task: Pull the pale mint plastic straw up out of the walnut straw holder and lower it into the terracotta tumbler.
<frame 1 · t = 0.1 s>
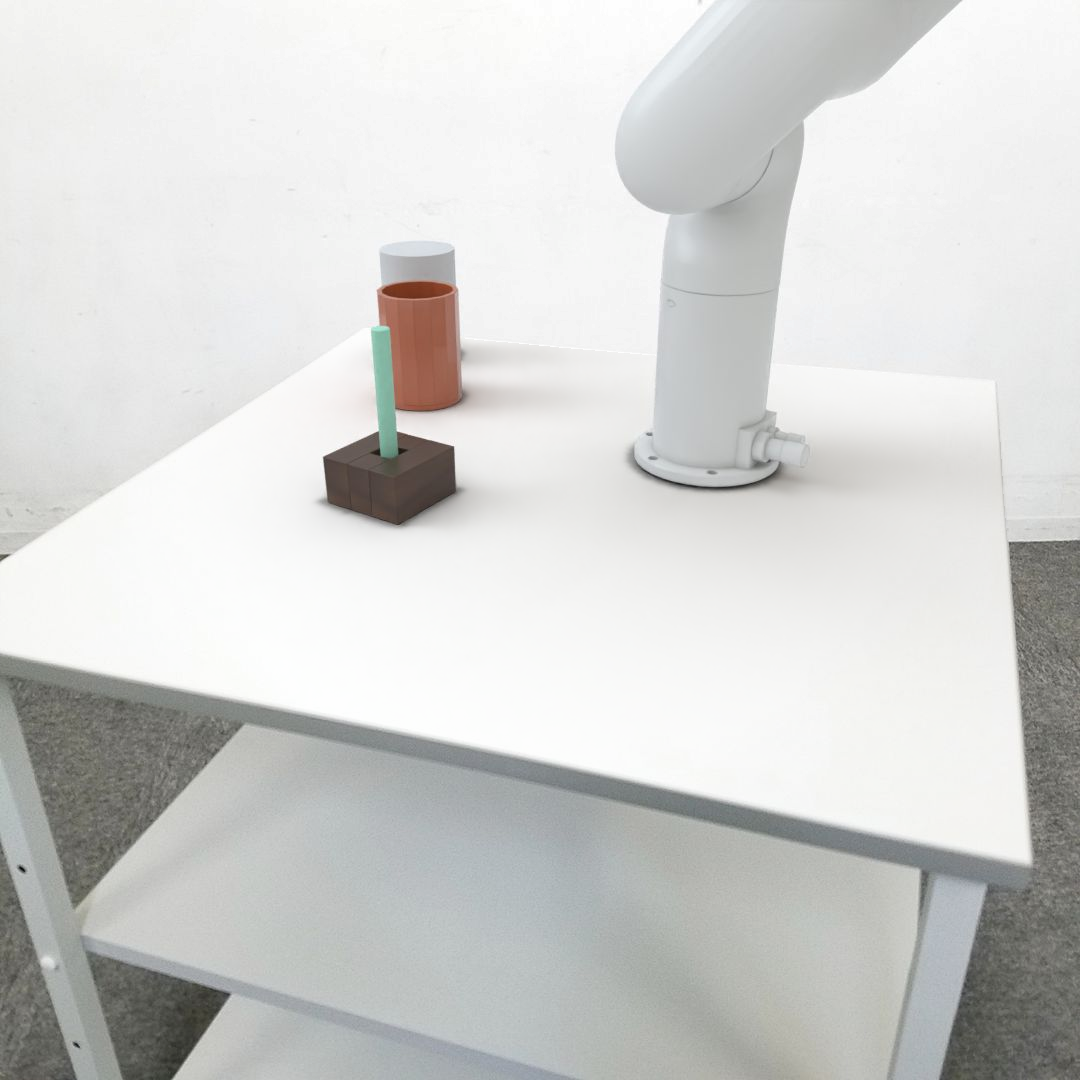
straw: (386, 415, 81), in the holder
tumbler: (423, 397, 105), on the table
light grey cylinder: (422, 357, 118), on the table
holder: (392, 496, 84), on the table
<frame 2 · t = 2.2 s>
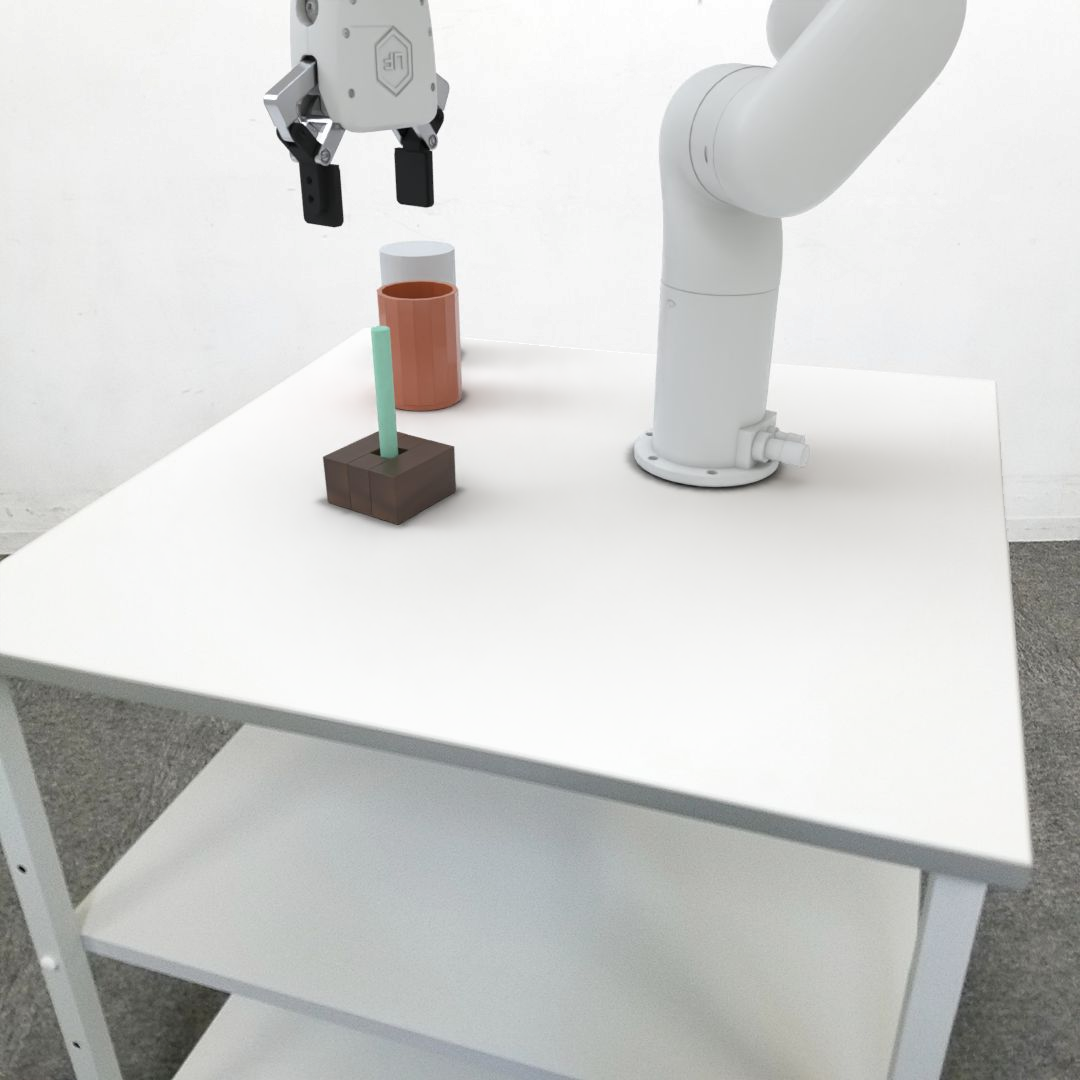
hand: (371, 214, 74), 22 cm above the table, tool pointing down, fingers open, 9 cm apart
nothing on the table moved.
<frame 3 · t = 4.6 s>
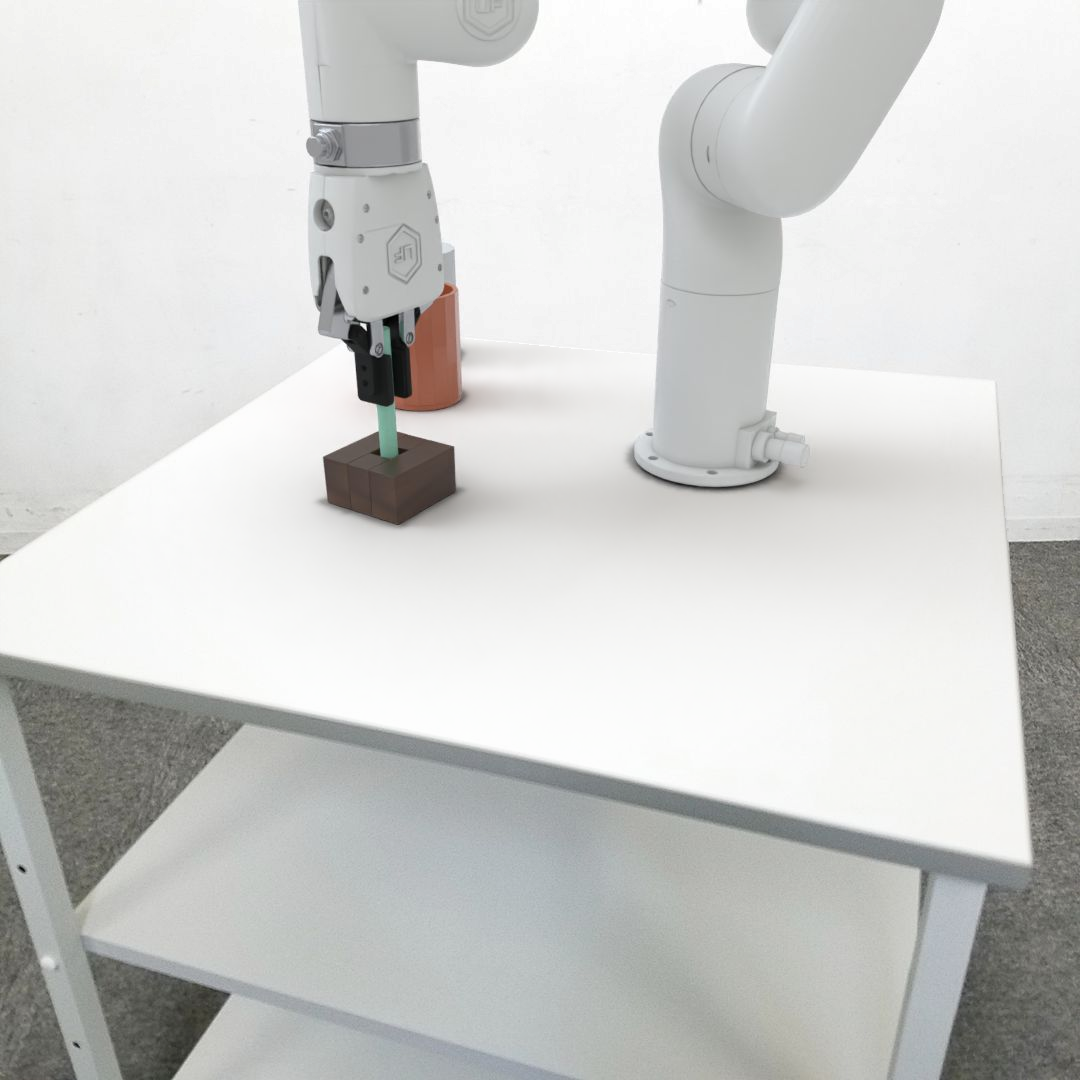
hand: (385, 397, 80), 9 cm above the table, tool pointing down, fingers closed on straw, 1 cm apart
straw: (386, 415, 81), in the holder, touching gripper
everything else where it was.
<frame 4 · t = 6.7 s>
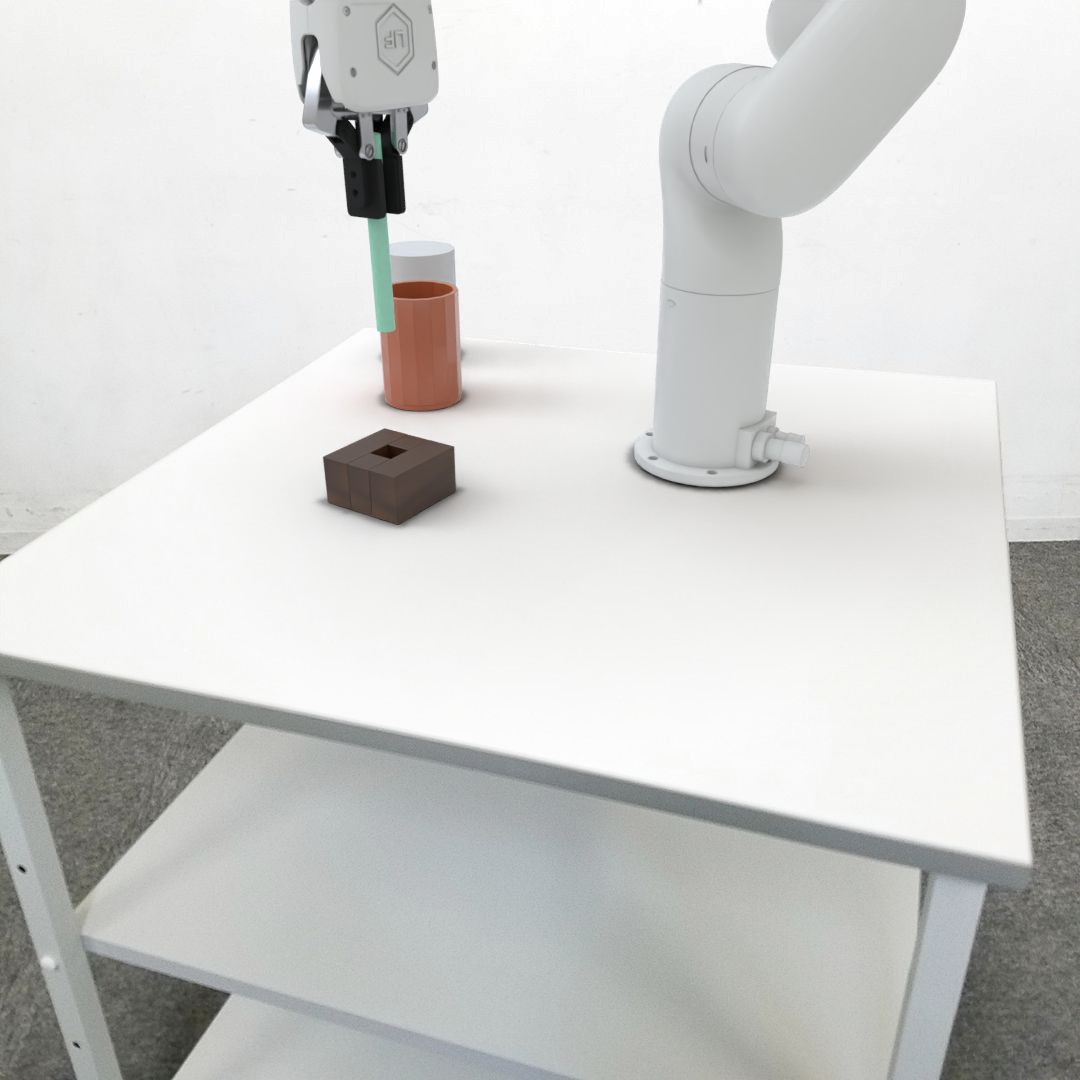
hand: (377, 213, 75), 22 cm above the table, tool pointing down, fingers closed on straw, 1 cm apart
straw: (378, 236, 75), point 21 cm above the table, touching gripper
everything else where it was.
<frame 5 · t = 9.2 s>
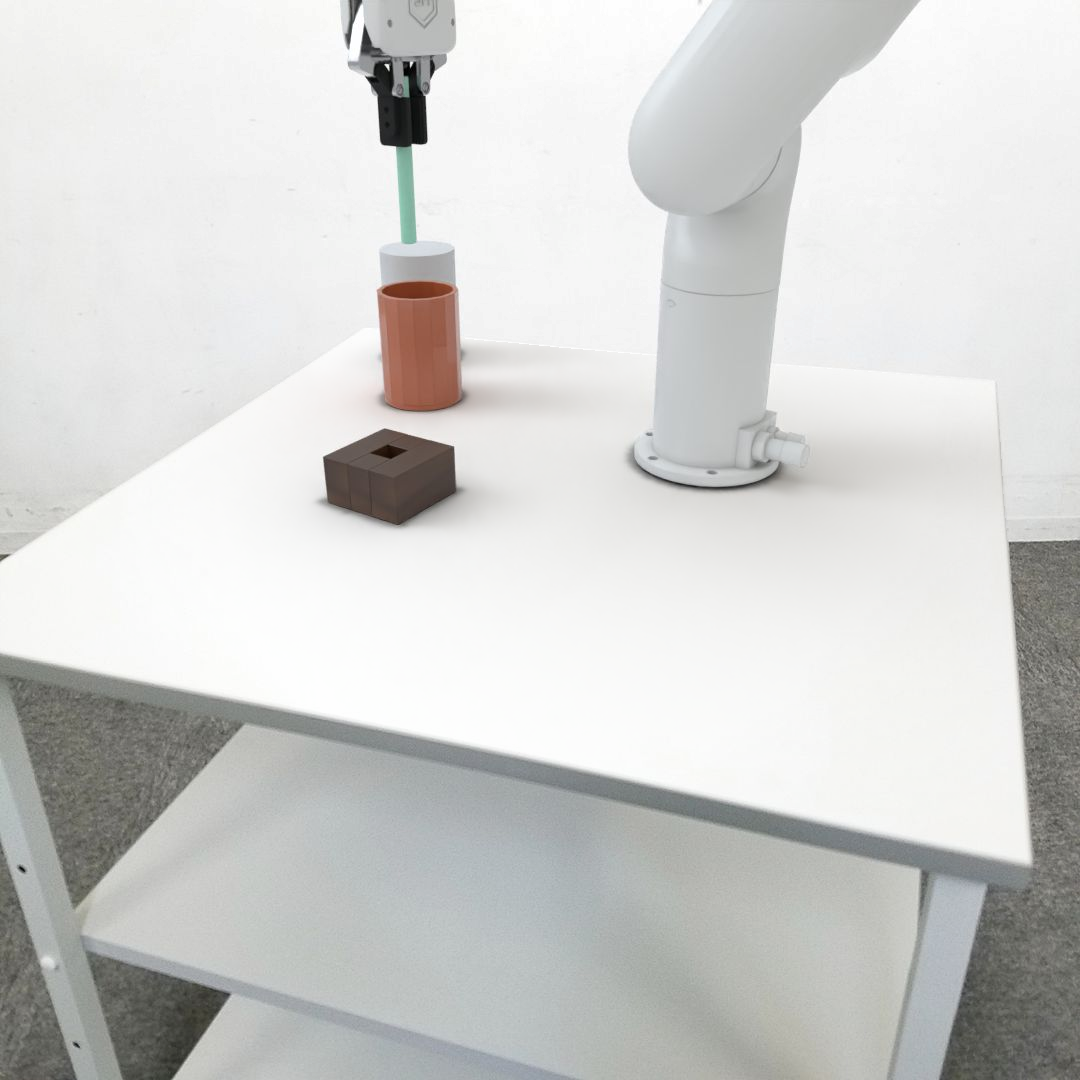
hand: (404, 143, 91), 25 cm above the table, tool pointing down, fingers closed on straw, 1 cm apart
straw: (404, 162, 92), point 23 cm above the table, touching gripper
everything else where it was.
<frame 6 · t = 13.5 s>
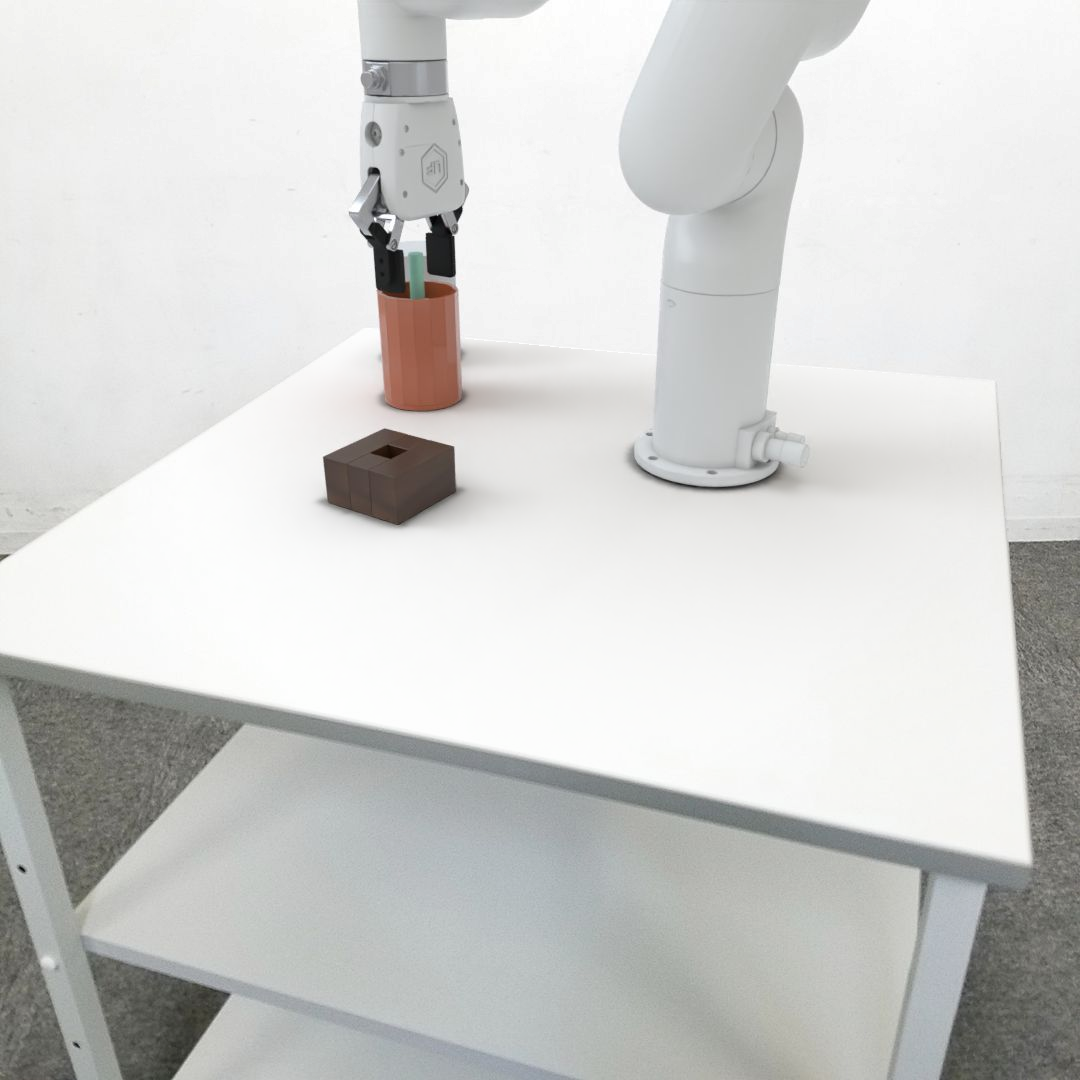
hand: (417, 281, 100), 12 cm above the table, tool pointing down, fingers open, 7 cm apart
straw: (419, 325, 102), in the tumbler
everything else where it was.
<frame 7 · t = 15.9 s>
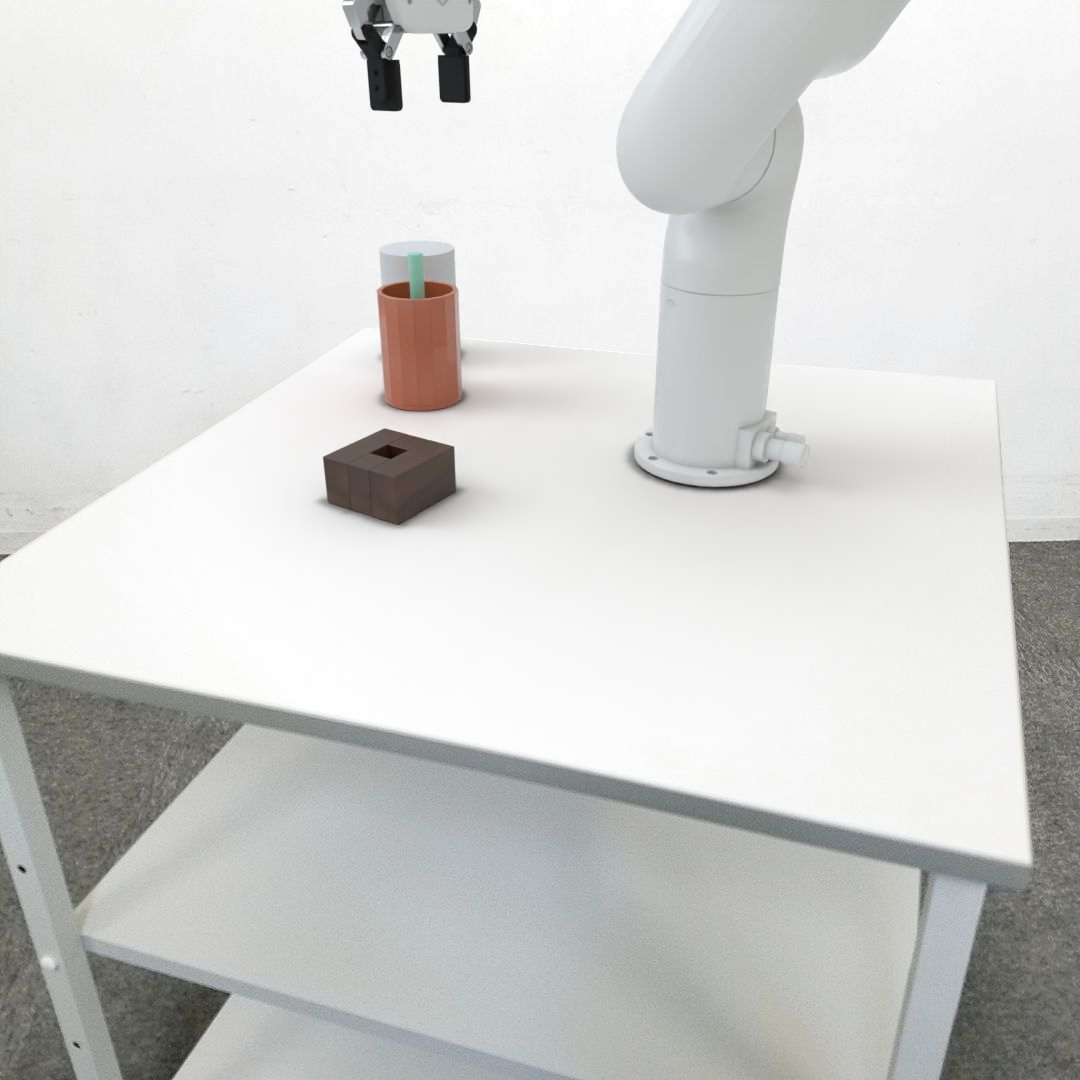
hand: (422, 106, 93), 27 cm above the table, tool pointing down, fingers open, 9 cm apart
nothing on the table moved.
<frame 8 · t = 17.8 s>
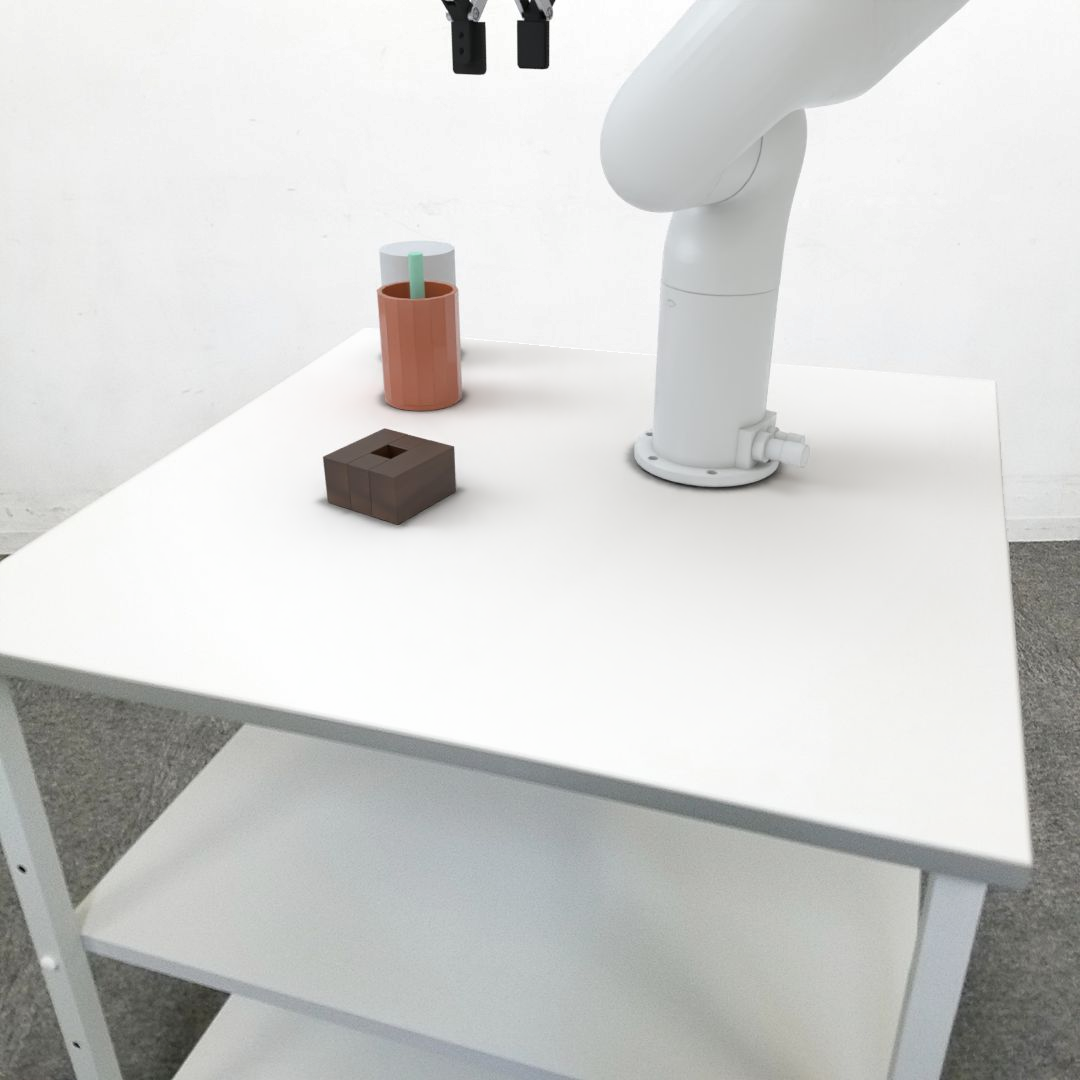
hand: (502, 71, 92), 30 cm above the table, tool pointing down, fingers open, 9 cm apart
nothing on the table moved.
at the end: straw 0.0 cm from the tumbler (horizontally); straw point 7.5 cm above the table; the gripper is holding nothing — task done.
